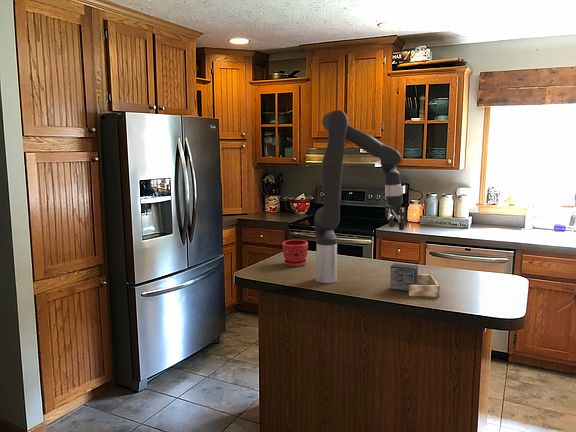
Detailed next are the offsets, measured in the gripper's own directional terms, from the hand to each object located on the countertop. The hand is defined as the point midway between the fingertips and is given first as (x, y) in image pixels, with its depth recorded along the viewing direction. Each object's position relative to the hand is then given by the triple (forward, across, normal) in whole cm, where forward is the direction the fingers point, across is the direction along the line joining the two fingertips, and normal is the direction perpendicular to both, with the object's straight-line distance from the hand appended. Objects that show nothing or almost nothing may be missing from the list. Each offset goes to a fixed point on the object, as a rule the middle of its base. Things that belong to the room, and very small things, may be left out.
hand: (396, 228), depth 216 cm
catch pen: (+22, +23, -5) cm, 32 cm away
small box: (+22, +20, -11) cm, 32 cm away
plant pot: (+17, -35, -40) cm, 56 cm away
